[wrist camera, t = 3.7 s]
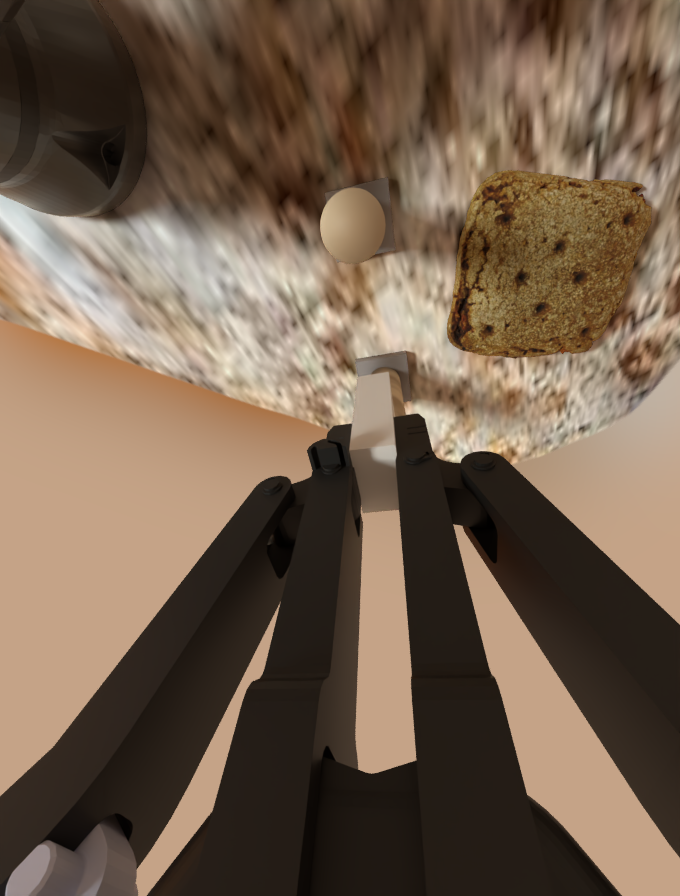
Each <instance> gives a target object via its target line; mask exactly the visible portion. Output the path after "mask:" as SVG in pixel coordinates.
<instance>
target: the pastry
mask: <svg viewBox="0 0 680 896" xmlns="http://www.w3.org/2000/svg"><path fill="white" fill-rule="evenodd" d="M642 187H643V185H641V184H639V183H635V182H624V181H616V180H596V179H595V180H593V181H589V182H588V181H587V180H582V179H576V178H569V177H565V176H557V175H549V174H540V173H532V172H524V171H518V170H517V171H512V170H507V171H502V172H497V173H495V174H494V175H492V176H490V177H488V178H487V179H486V180H485V181H484V182H483V183H482V184H481V185H480V186H479V187H478V189H477V191H476V193H475V195H474V197H473V199H472V201H471V204H470V208H469V210H468V213H467V220H466V223H465V226H464V228H463V230H462V235H461V237H460V242H459V251H458V254H457V259H456V261H457V265H456V276H455V284H454V291H453V301H452V306H451V311H450V315H449V318H448V323H447V335H448V338H449V341H450V342H451V343H452V344H453V345H454V346H455V347H457V348H459V349H460V350H463V351H467V352H473V353H477V354H478V355H485V356H503V357H511V358H517V357H518V356H522V357H535V356H541V355H549V354H553V353H556V352H557V351H560V352H561V353H562V354H563V353H564V352H570V353H572V354H574V353H581V352H586V351H588V350H589V348H591V346H592V342H593V341H595V340H597V339H599V338H600V337H601V335H602V334H603V333H604V331H605V330H606V328H607V325H608V323H609V321H610V319H611V317H612V316H613V315H614V313H615V312H616V310H617V309H618V307H619V306H620V305H621V303H622V300H623V298H624V294H625V292H626V289H627V286H628V282H629V279H630V275H631V272H632V269H633V266H634V260H635V258H636V256H637V251H638V249H639V247H640V245H641V243H642V240H643V238H644V236H645V234H646V232H647V230H648V228H649V226H650V224H651V207H650V206H647V205H646V204H645V199H644V198H643V194H641V195H639V196H637V195H636V192H637V191H638V190H639V189H641V188H642Z"/></svg>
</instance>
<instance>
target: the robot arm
mask: <svg viewBox="0 0 680 896" xmlns="http://www.w3.org/2000/svg"><path fill="white" fill-rule="evenodd" d="M146 139H147V129H146V116H145V108H144V102H143V97H142V93H141V88H140V85H139V81H138V78H137V75H136V72H135V69H134V66H133V63H132V61H131V58H130V56H129V53H128V51H127V49H126V47H125V45H124V43H123V41H122V39H121V37H120V35H119V33H118V31H117V29H116V28H115V26H114V24H113V22H112V21H111V19H110V18H109V16H108V15H107V13H106V12H105V10H104V9H103V7H102V6H101V5H100V3H99V2H98V1H97V0H0V194H1V195H3V196H5V197H7V198H10V199H12V200H14V201H17V202H19V203H21V204H23V205H25V206H27V207H30V208H32V209H34V210H37V211H40V212H43V213H47V214H52V215H57V216H65V217H88V216H96V215H100V214H103V213H106V212H108V211H110V210H112V209H114V208H116V207H117V206H118V205H120V204H121V203H122V202H123V201H124V200H125V199H126V198H127V197H128V195H129V194H130V193H131V191H132V190H133V188H134V186H135V185H136V183H137V181H138V178H139V176H140V173H141V170H142V167H143V163H144V158H145V151H146ZM307 453H308V456H309V459H310V463H311V466H312V470H313V472H312V476H311V477H310V478H308V479H306V480H303V481H300V482H297V483H294V484H291V481H290V479H288V478H287V477H284V476H276V477H271V478H268V479H266V480H264V481H262V482H260V483H259V484H258V485H257V486H256V487H255V488H254V490H253V491H252V492H251V494H250V495H249V496H248V497H247V499H246V500H245V501H244V503H243V504H242V505H241V506H240V508H239V509H238V510H237V512H236V513H235V514H234V516H233V517H232V518H231V520H230V521H229V522H228V523H227V524H226V526H225V527H224V528H223V530H222V531H221V532H220V533H219V535H218V536H217V538H216V539H215V540H214V541H213V542H212V544H211V545H210V546H209V548H208V549H207V550H206V551H205V553H204V554H203V555H202V557H201V558H200V559H199V560H198V562H197V563H196V564H195V566H194V567H193V568H192V569H191V571H190V572H189V573H188V575H187V576H186V577H185V578H184V580H183V581H182V582H181V584H180V585H179V586H178V587H177V589H176V590H175V591H174V593H173V594H172V595H171V596H170V598H169V599H168V600H167V602H166V603H165V604H164V605H163V607H162V608H161V609H160V611H159V612H158V613H157V615H156V616H155V617H154V618H153V620H152V621H151V622H150V623H149V625H148V626H147V627H146V629H145V630H144V631H143V632H142V634H141V635H140V636H139V638H138V639H137V640H136V641H135V643H134V644H133V645H132V647H131V648H130V649H129V650H128V652H127V653H126V654H125V656H124V657H123V658H122V659H121V661H120V662H119V663H118V665H117V666H116V667H115V669H114V670H113V671H112V672H111V674H110V675H109V676H108V677H107V679H106V680H105V681H104V683H103V684H102V685H101V686H100V688H99V689H98V690H97V692H96V693H95V694H94V695H93V697H92V698H91V699H90V701H89V702H88V703H87V705H86V706H85V707H84V708H83V710H82V711H81V712H80V713H79V715H78V716H77V717H76V719H75V720H74V721H73V722H72V724H71V725H70V726H69V728H68V729H67V730H66V732H65V733H64V734H63V735H62V737H61V738H60V739H59V740H58V742H57V743H56V744H55V746H54V747H53V748H52V749H51V750H50V751H49V752H47V753H46V754H45V755H44V756H43V757H42V758H41V759H40V760H39V761H38V762H37V763H36V764H35V765H33V767H31V768H30V769H29V770H28V771H27V772H26V773H25V774H24V775H23V776H22V777H21V778H19V779H18V780H17V781H16V782H15V783H14V784H13V785H12V786H11V787H10V788H9V789H8V790H7V791H5V792H4V793H3V794H2V795H1V796H0V896H138V890H137V885H136V884H135V882H136V870H137V868H138V867H139V865H140V864H141V863H142V861H143V860H144V858H145V857H146V856H147V854H148V853H149V852H150V850H151V849H152V847H153V846H154V844H155V842H156V841H157V839H158V838H159V836H160V834H161V833H162V831H163V830H164V828H165V827H166V825H167V824H168V822H169V820H170V819H171V817H172V815H173V813H174V811H175V809H176V808H177V806H178V804H179V802H180V800H181V799H182V797H183V795H184V793H185V791H186V789H187V788H188V785H189V784H190V782H191V780H192V778H193V776H194V774H195V772H196V769H197V767H198V766H199V763H200V762H201V760H202V758H203V755H204V754H205V752H206V750H207V748H208V746H209V744H210V742H211V739H212V738H213V736H214V734H215V732H216V729H217V727H218V726H219V723H220V722H221V719H222V718H223V715H224V714H225V712H226V710H227V708H228V705H229V703H230V701H231V699H232V698H233V695H234V694H235V692H236V690H237V688H238V685H239V684H240V682H241V680H242V677H243V675H244V673H245V672H246V669H247V667H248V666H249V663H250V662H251V659H252V657H253V655H254V653H255V651H256V649H257V647H258V645H259V643H260V641H261V639H262V637H263V635H264V633H265V631H266V629H267V627H268V625H269V623H270V621H271V619H272V617H273V615H274V613H275V611H276V609H277V607H278V605H279V603H280V601H281V603H280V607H279V612H278V616H277V620H276V624H275V628H274V632H273V636H272V640H271V645H270V649H269V653H268V657H267V661H266V665H265V669H264V672H263V674H262V676H261V678H260V679H258V680H255V681H253V682H252V683H251V684H250V686H249V687H248V689H247V691H246V694H245V696H244V699H243V702H242V706H241V709H240V713H239V717H238V720H237V724H236V727H235V732H234V735H233V739H232V742H231V746H230V750H229V753H228V757H227V761H226V765H225V768H224V772H223V775H222V779H221V783H220V786H219V790H218V794H217V798H216V801H215V805H214V808H213V811H212V813H211V814H210V816H208V818H207V819H206V820H205V822H204V823H203V824H202V825H201V827H200V828H199V829H198V831H197V832H196V833H195V834H194V836H193V837H192V838H191V839H190V841H189V842H188V843H187V845H186V846H185V847H184V849H183V850H182V851H181V852H180V854H179V855H178V856H177V857H176V859H175V860H174V861H173V863H172V864H171V865H170V866H169V868H168V869H167V870H166V872H165V873H164V875H162V877H161V878H160V879H159V881H158V882H157V883H156V884H155V886H154V887H153V888H152V890H151V891H150V892H149V893H148V895H147V896H622V895H621V894H620V893H619V892H618V891H617V889H616V888H615V887H614V886H613V885H612V884H611V882H610V881H609V880H608V879H607V878H606V876H605V875H604V874H603V873H602V872H601V870H600V869H599V868H598V867H597V866H596V865H595V863H594V862H593V861H592V860H591V859H590V857H589V856H588V855H587V854H586V853H585V852H584V850H583V849H582V848H581V847H580V846H579V844H578V843H577V842H576V841H575V840H574V838H573V837H572V836H571V835H570V834H569V833H568V832H567V830H566V829H565V828H564V827H563V826H562V825H561V824H560V823H559V822H558V821H557V820H556V819H555V818H554V817H553V816H552V815H551V814H550V813H549V812H548V811H547V810H546V809H544V808H543V807H542V806H541V805H540V804H538V803H537V802H536V801H535V800H533V799H532V798H531V797H530V796H528V795H527V793H526V789H525V785H524V781H523V777H522V774H521V770H520V766H519V762H518V758H517V755H516V751H515V747H514V743H513V740H512V735H511V731H510V728H509V724H508V720H507V716H506V712H505V708H504V705H503V701H502V697H501V694H500V690H499V687H498V685H497V682H496V679H495V678H494V676H492V674H491V672H490V669H489V666H488V662H487V658H486V654H485V650H484V647H483V643H482V639H481V634H480V630H479V626H478V622H477V618H476V614H475V610H474V606H473V602H472V598H471V594H470V590H469V586H468V582H467V578H466V574H465V570H464V566H463V562H462V558H461V554H460V550H459V546H458V542H457V538H456V534H455V530H454V526H453V524H455V525H462V526H463V529H464V532H465V533H466V535H467V536H468V538H469V539H470V541H471V542H472V544H473V545H474V547H475V548H476V550H477V552H478V553H479V555H480V556H481V558H482V559H483V561H484V562H485V564H486V565H487V567H488V568H489V570H490V572H491V573H492V575H493V576H494V578H495V579H496V581H497V582H498V584H499V586H500V587H501V589H502V590H503V592H504V593H505V595H506V596H507V598H508V599H509V601H510V602H511V604H512V605H513V607H514V609H515V610H516V612H517V613H518V615H519V616H520V618H521V619H522V621H523V622H524V624H525V625H526V627H527V629H528V630H529V632H530V633H531V635H532V636H533V638H534V639H535V641H536V642H537V644H538V646H539V647H540V649H541V650H542V652H543V653H544V655H545V656H546V658H547V660H548V661H549V663H550V664H551V666H552V667H553V669H554V670H555V672H556V673H557V675H558V676H559V678H560V680H561V681H562V682H563V684H564V686H565V687H566V689H567V690H568V692H569V693H570V695H571V696H572V698H573V700H574V701H575V703H576V704H577V706H578V707H579V709H580V710H581V712H582V713H583V715H584V716H585V718H586V720H587V721H588V723H589V724H590V726H591V727H592V729H593V730H594V732H595V733H596V735H597V737H598V738H599V739H600V741H601V743H602V744H603V746H604V747H605V749H606V750H607V752H608V754H609V755H610V757H611V758H612V760H613V761H614V763H615V764H616V766H617V767H618V769H619V770H620V772H621V774H622V775H623V776H624V778H625V780H626V781H627V783H628V784H629V786H630V787H631V789H632V791H633V792H634V794H635V795H636V797H637V798H638V800H639V801H640V803H641V804H642V806H643V807H644V809H645V810H646V812H647V813H648V814H649V816H650V817H651V819H652V820H653V821H654V823H655V824H656V826H657V827H658V829H659V830H660V831H661V833H662V834H663V836H664V837H665V839H666V840H667V842H668V843H669V844H670V845H671V847H672V848H673V850H674V851H675V852H676V853H677V855H678V856H679V857H680V625H679V624H678V623H677V622H676V621H675V620H674V619H673V618H672V617H671V616H670V615H669V614H668V613H667V612H666V611H665V610H664V609H663V608H661V607H660V606H659V605H658V604H657V603H656V602H655V601H654V600H653V599H652V598H651V597H650V596H649V595H648V594H647V593H646V592H645V591H644V590H642V589H641V588H640V587H639V586H638V585H637V584H636V583H635V582H634V581H633V580H632V579H631V578H630V577H629V576H628V575H627V574H626V573H625V572H624V571H623V570H621V569H620V568H619V567H618V566H617V565H616V564H615V563H614V562H613V561H612V560H611V559H610V558H609V557H608V556H607V555H606V554H605V553H604V552H603V551H601V550H600V549H599V548H598V547H597V546H596V545H595V544H594V543H593V542H592V541H591V540H590V539H589V538H588V537H587V536H586V535H585V534H583V532H581V531H580V530H579V529H578V528H577V527H576V526H575V525H574V524H573V523H572V522H571V521H570V520H569V519H568V518H567V517H566V516H565V515H564V514H563V513H561V512H560V511H559V510H558V509H557V508H556V507H555V506H554V505H553V504H552V503H551V502H550V501H549V500H548V499H547V498H546V497H544V495H543V494H541V493H540V492H539V491H538V490H537V489H536V488H535V487H534V486H533V485H532V484H531V483H530V482H529V481H528V480H527V479H526V478H524V476H523V475H521V474H520V473H519V472H518V471H517V470H516V469H515V468H514V467H513V466H512V465H511V464H510V463H509V462H508V461H507V460H506V459H505V458H503V457H502V456H500V455H499V454H496V453H493V452H487V451H479V452H473V453H470V454H468V455H466V456H465V457H464V458H462V460H461V463H452V462H446V461H443V460H441V459H439V458H437V457H436V455H435V454H434V452H433V451H432V447H431V443H430V439H429V435H428V431H427V427H426V423H425V419H424V418H423V417H422V416H420V415H419V414H411V415H404V416H396V417H395V414H394V407H393V399H392V392H391V384H390V377H389V372H384V373H378V374H371V375H365V376H359V377H357V385H356V394H355V403H354V412H353V421H352V424H345V425H337V426H333V427H332V429H331V430H330V431H329V432H328V434H327V438H326V439H322V440H320V441H317V442H315V443H314V444H312V445H311V446H310V447H309V448H308V450H307ZM361 507H362V511H363V513H368V512H378V511H389V510H399V512H400V526H401V539H402V551H403V565H404V577H405V590H406V602H407V616H408V629H409V641H410V654H411V668H412V677H411V689H412V705H413V718H414V732H415V745H416V758H417V760H416V761H413V762H410V763H407V764H404V765H401V766H398V767H394V768H391V769H388V770H385V771H382V772H379V773H375V774H369V773H365V772H363V771H360V770H358V760H357V752H356V741H355V722H356V696H357V668H358V641H359V614H360V587H361V560H362V531H363V521H362V517H361Z"/></svg>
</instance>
